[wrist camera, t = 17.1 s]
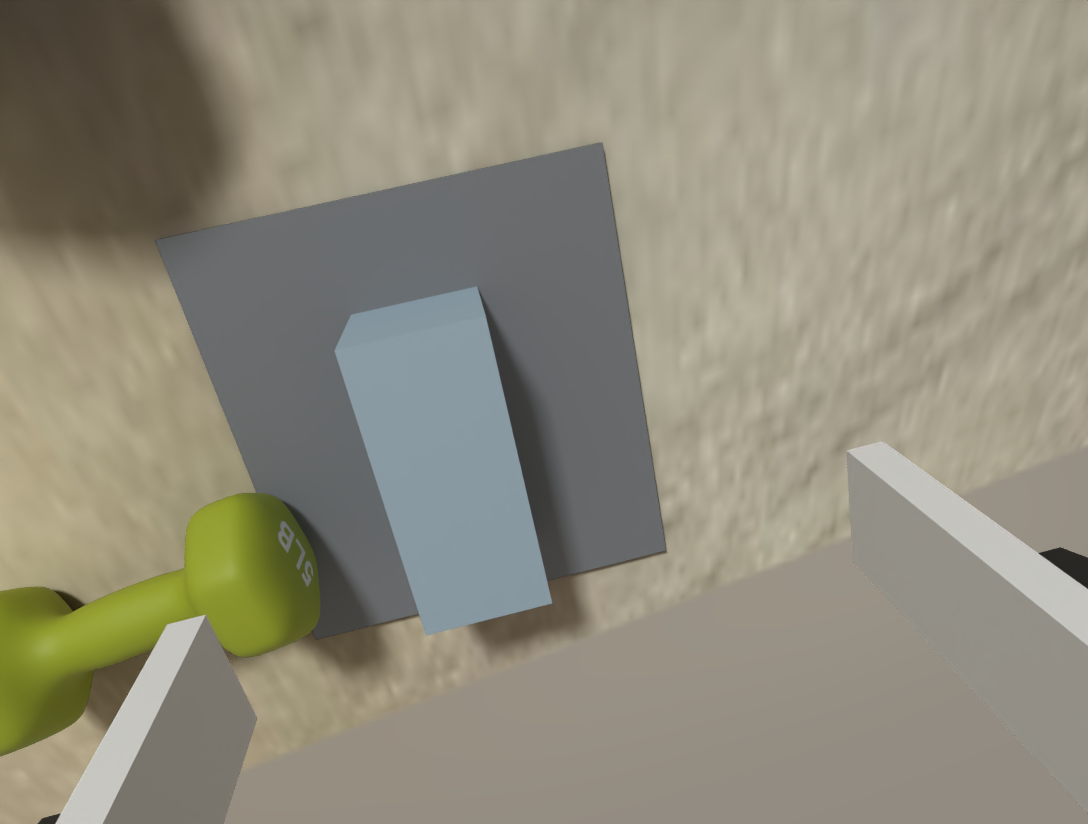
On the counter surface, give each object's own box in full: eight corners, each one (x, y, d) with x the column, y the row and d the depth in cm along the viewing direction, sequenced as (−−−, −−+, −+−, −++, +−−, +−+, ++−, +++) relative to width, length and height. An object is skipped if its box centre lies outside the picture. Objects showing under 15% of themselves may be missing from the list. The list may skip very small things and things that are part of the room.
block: (426, 635, 33) (334, 351, 28) (426, 563, 39) (350, 314, 33) (552, 603, 33) (485, 316, 28) (535, 536, 39) (477, 286, 34)
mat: (600, 142, 33) (602, 142, 32) (663, 546, 41) (666, 550, 41) (158, 239, 31) (154, 240, 31) (316, 635, 40) (315, 639, 39)
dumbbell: (274, 453, 35) (232, 529, 28) (346, 579, 38) (323, 674, 32) (-32, 572, 36) (-145, 673, 29) (63, 686, 39) (-19, 803, 32)
